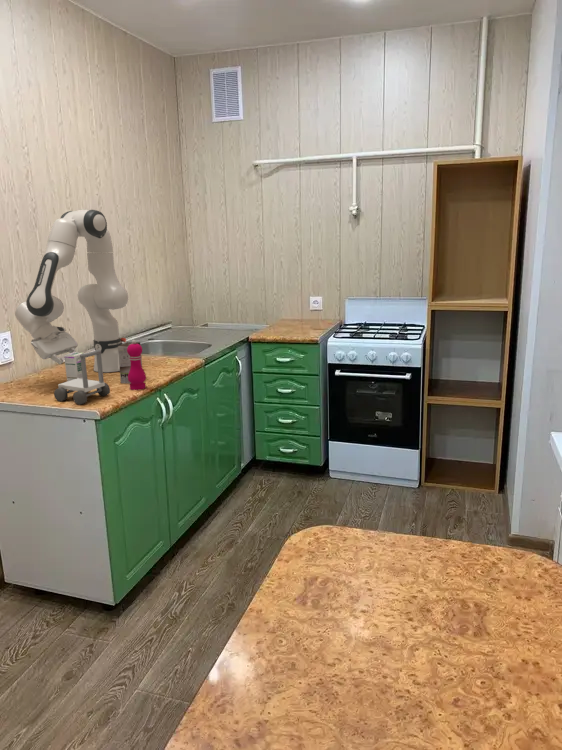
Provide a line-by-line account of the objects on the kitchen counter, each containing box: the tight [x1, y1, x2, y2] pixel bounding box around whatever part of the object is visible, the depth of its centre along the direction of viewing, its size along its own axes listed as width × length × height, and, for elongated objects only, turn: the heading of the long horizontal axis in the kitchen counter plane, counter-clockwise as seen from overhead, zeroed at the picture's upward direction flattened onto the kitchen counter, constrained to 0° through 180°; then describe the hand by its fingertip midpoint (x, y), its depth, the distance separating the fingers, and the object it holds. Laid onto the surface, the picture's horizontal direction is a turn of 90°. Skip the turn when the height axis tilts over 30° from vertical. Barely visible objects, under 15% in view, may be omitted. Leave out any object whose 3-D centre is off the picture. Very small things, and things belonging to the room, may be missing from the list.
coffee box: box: [118, 341, 143, 384], centre depth 247 cm, size 9×6×16 cm
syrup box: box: [63, 351, 85, 382], centre depth 238 cm, size 6×6×14 cm
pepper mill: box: [127, 339, 147, 391], centre depth 235 cm, size 7×7×20 cm
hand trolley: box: [53, 350, 111, 406], centre depth 223 cm, size 14×15×19 cm
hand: (69, 360), depth 237 cm, fingers open, 8 cm apart
